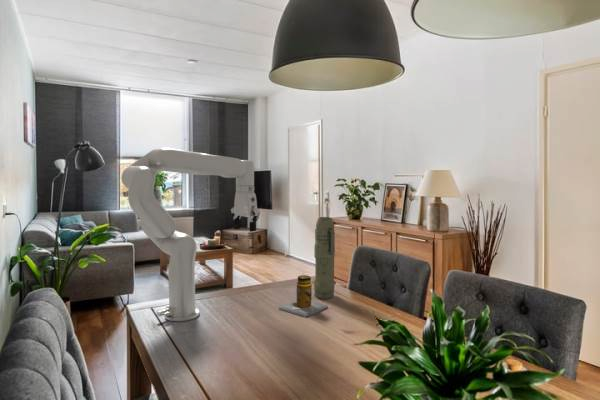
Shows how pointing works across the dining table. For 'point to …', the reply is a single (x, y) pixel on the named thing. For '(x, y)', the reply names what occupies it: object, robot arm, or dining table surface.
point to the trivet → (304, 312)
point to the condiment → (303, 293)
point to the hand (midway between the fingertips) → (245, 230)
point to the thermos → (324, 258)
